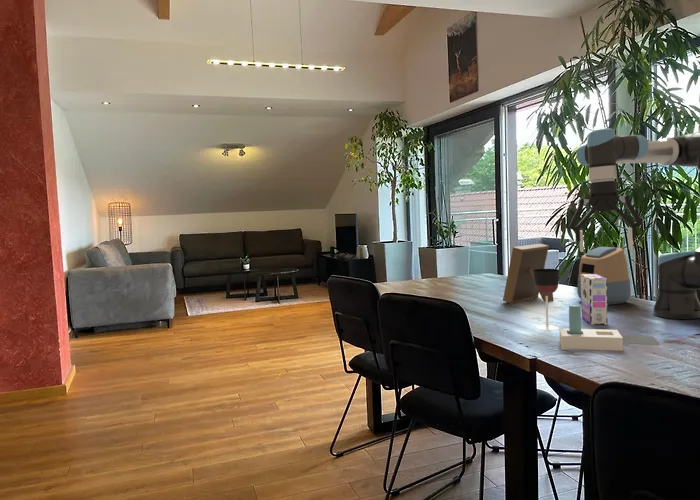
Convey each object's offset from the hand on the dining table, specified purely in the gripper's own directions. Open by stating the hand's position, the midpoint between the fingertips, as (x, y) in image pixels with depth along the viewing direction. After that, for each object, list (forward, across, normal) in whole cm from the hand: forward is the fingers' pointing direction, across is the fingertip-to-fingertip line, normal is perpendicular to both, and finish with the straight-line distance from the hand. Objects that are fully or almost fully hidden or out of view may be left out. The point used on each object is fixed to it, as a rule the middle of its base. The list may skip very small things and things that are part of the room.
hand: (605, 250), depth 160 cm
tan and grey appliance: (+29, -7, -65) cm, 72 cm away
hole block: (+27, +7, +11) cm, 30 cm away
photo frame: (+28, +22, -66) cm, 75 cm away
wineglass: (+28, +18, -13) cm, 35 cm away
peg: (+27, +11, +11) cm, 31 cm away
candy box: (+28, +2, -25) cm, 38 cm away
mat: (+28, -7, +3) cm, 29 cm away
